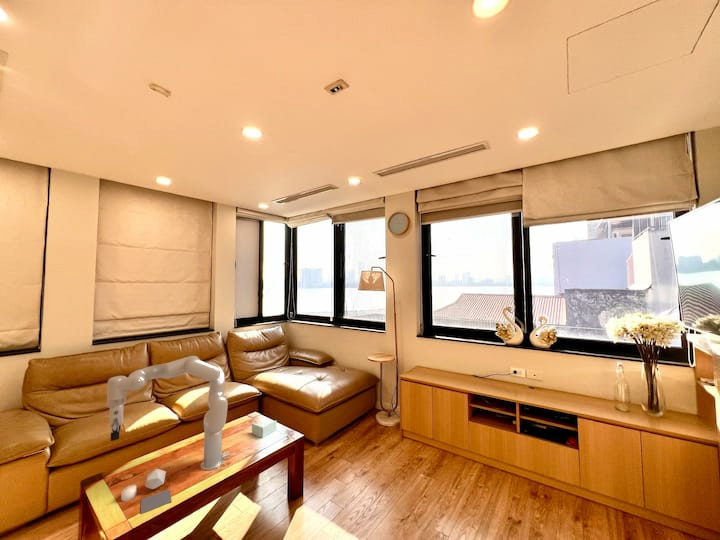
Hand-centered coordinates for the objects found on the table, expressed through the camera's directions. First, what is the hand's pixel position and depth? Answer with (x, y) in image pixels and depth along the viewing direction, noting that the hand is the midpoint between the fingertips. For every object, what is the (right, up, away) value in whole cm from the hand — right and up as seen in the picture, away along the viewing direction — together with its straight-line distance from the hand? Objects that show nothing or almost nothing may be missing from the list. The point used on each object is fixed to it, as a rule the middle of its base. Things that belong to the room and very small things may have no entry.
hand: (115, 435), depth 144 cm
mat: (+23, -31, -3) cm, 38 cm away
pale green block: (+55, -34, +61) cm, 89 cm away
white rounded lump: (+7, -31, 0) cm, 32 cm away
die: (+16, -32, +6) cm, 36 cm away
